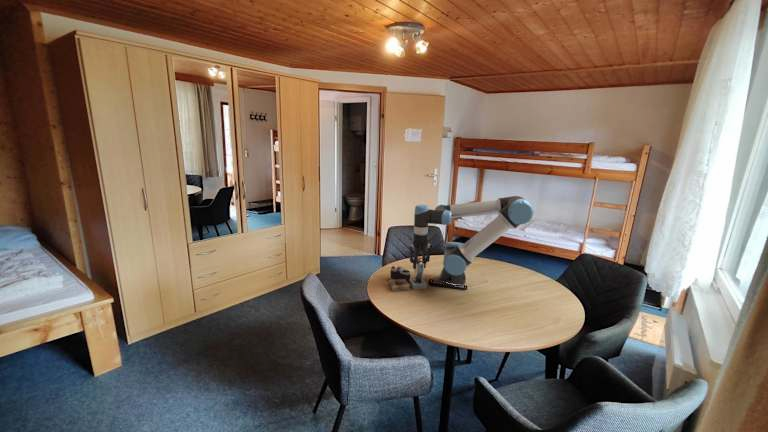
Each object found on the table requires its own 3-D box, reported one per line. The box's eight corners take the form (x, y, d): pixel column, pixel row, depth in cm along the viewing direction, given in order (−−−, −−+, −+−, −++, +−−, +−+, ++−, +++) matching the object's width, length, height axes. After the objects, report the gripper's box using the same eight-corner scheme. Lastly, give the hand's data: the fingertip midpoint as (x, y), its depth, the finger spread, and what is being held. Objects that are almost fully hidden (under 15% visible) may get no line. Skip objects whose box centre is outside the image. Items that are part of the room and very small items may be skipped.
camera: (414, 280, 193) (414, 265, 191) (408, 284, 186) (408, 269, 184) (395, 276, 199) (395, 262, 198) (389, 280, 193) (388, 265, 191)
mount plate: (422, 282, 189) (422, 278, 188) (426, 288, 181) (427, 284, 181) (408, 283, 187) (408, 279, 187) (413, 289, 180) (413, 285, 179)
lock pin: (420, 279, 186) (421, 257, 183) (423, 281, 182) (424, 259, 179) (414, 279, 185) (415, 257, 182) (416, 282, 181) (417, 259, 178)
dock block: (404, 282, 188) (405, 278, 187) (410, 290, 178) (410, 286, 178) (388, 284, 185) (388, 280, 185) (392, 292, 176) (392, 287, 175)
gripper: (432, 231, 183) (430, 270, 188) (404, 232, 179) (403, 272, 184) (437, 234, 176) (435, 275, 181) (408, 236, 172) (407, 277, 177)
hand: (419, 273), depth 183 cm, fingers closed on lock pin, 3 cm apart
